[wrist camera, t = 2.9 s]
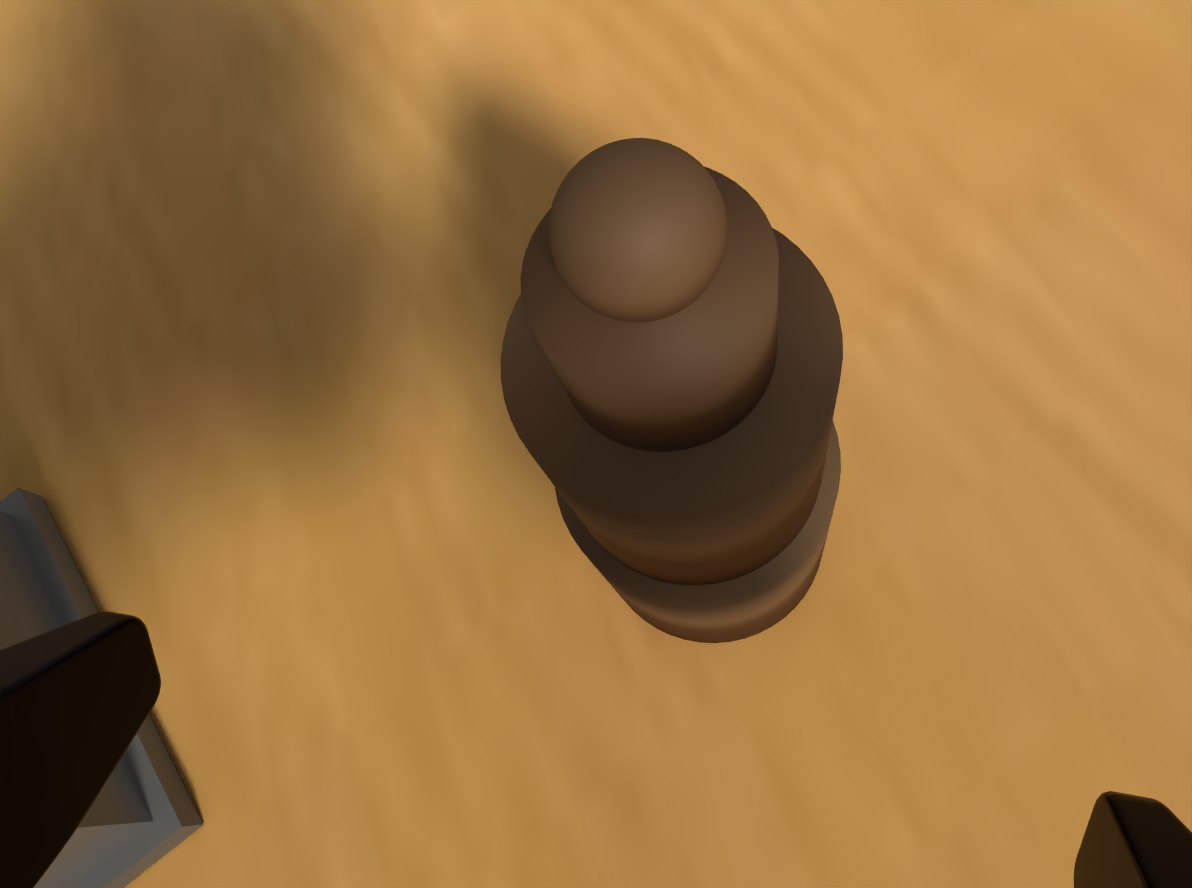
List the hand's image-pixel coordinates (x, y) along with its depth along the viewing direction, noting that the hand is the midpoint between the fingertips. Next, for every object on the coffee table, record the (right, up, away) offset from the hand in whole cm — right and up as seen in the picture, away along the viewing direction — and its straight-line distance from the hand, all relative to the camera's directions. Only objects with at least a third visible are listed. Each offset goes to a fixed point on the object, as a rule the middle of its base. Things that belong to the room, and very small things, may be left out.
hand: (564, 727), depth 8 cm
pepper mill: (+3, +1, +12) cm, 12 cm away
